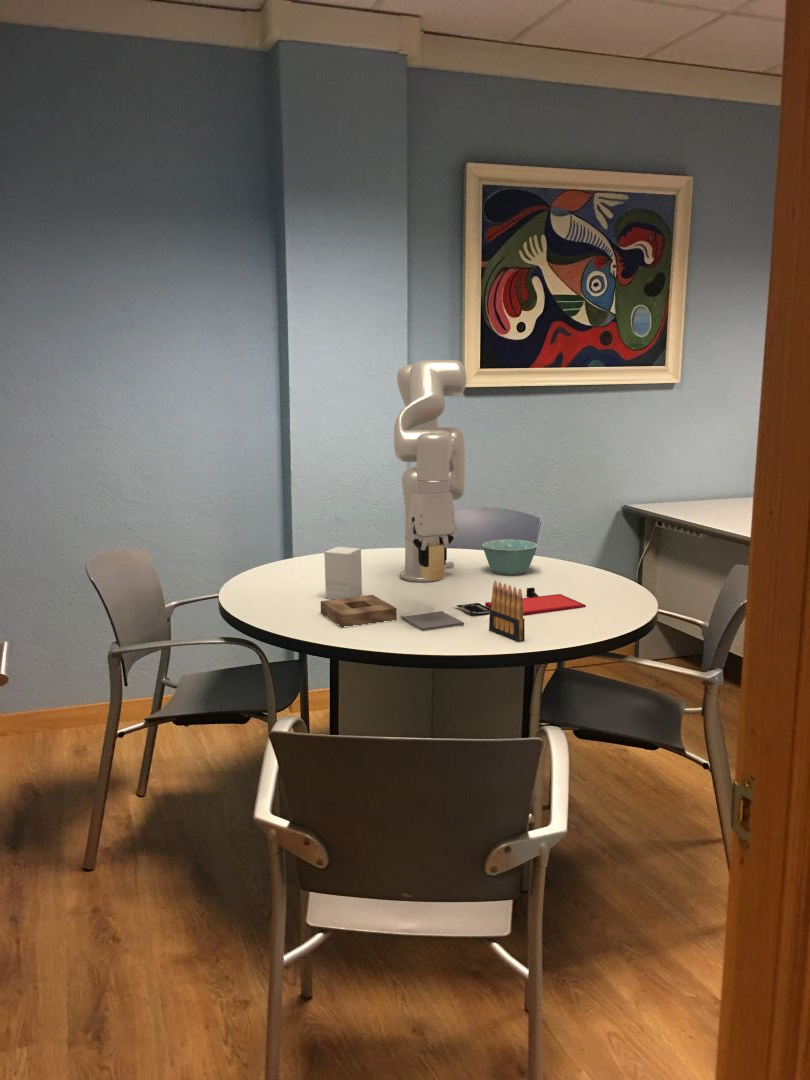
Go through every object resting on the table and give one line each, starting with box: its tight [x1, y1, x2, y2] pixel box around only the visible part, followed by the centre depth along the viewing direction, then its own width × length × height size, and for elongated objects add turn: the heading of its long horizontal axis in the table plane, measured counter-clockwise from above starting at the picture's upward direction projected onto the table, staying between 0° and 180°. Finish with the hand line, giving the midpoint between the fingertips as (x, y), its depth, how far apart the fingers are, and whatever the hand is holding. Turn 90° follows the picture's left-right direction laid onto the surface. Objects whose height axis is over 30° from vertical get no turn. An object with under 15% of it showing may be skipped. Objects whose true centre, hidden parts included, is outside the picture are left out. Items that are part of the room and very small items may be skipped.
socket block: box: [320, 594, 398, 628], centre depth 224 cm, size 14×14×3 cm
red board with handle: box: [455, 587, 587, 617], centre depth 232 cm, size 30×3×15 cm
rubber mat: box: [400, 610, 465, 632], centre depth 219 cm, size 11×11×1 cm
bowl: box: [481, 539, 538, 576], centre depth 269 cm, size 16×16×8 cm
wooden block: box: [421, 542, 445, 581], centre depth 216 cm, size 4×4×8 cm
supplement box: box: [323, 546, 363, 600], centre depth 241 cm, size 7×7×13 cm
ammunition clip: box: [488, 580, 525, 643], centre depth 207 cm, size 11×2×12 cm, turn 32°
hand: (432, 564), depth 216 cm, fingers closed on wooden block, 4 cm apart
